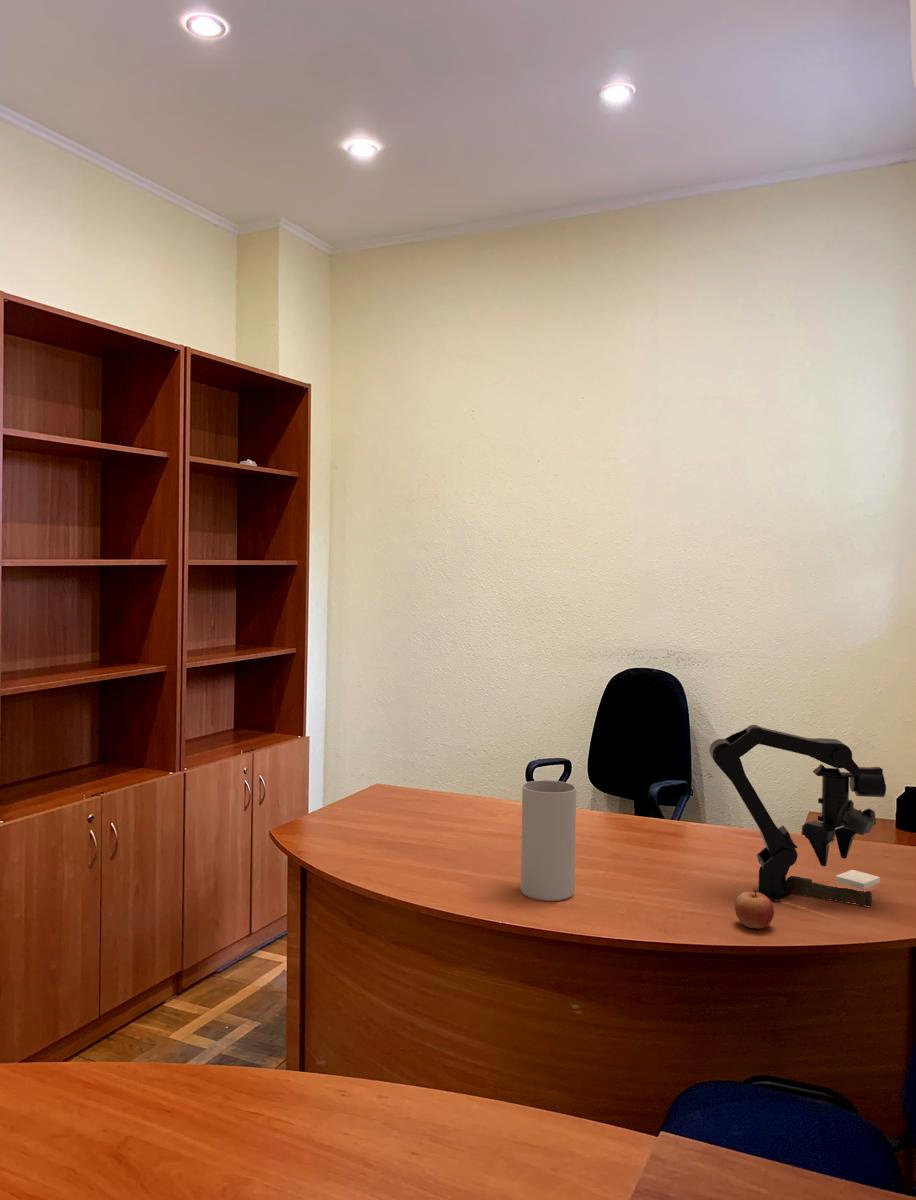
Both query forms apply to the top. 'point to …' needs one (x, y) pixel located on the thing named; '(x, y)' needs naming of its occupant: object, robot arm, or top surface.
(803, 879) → the hand tool
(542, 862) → the cylinder vase
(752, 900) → the apple
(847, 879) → the tile
